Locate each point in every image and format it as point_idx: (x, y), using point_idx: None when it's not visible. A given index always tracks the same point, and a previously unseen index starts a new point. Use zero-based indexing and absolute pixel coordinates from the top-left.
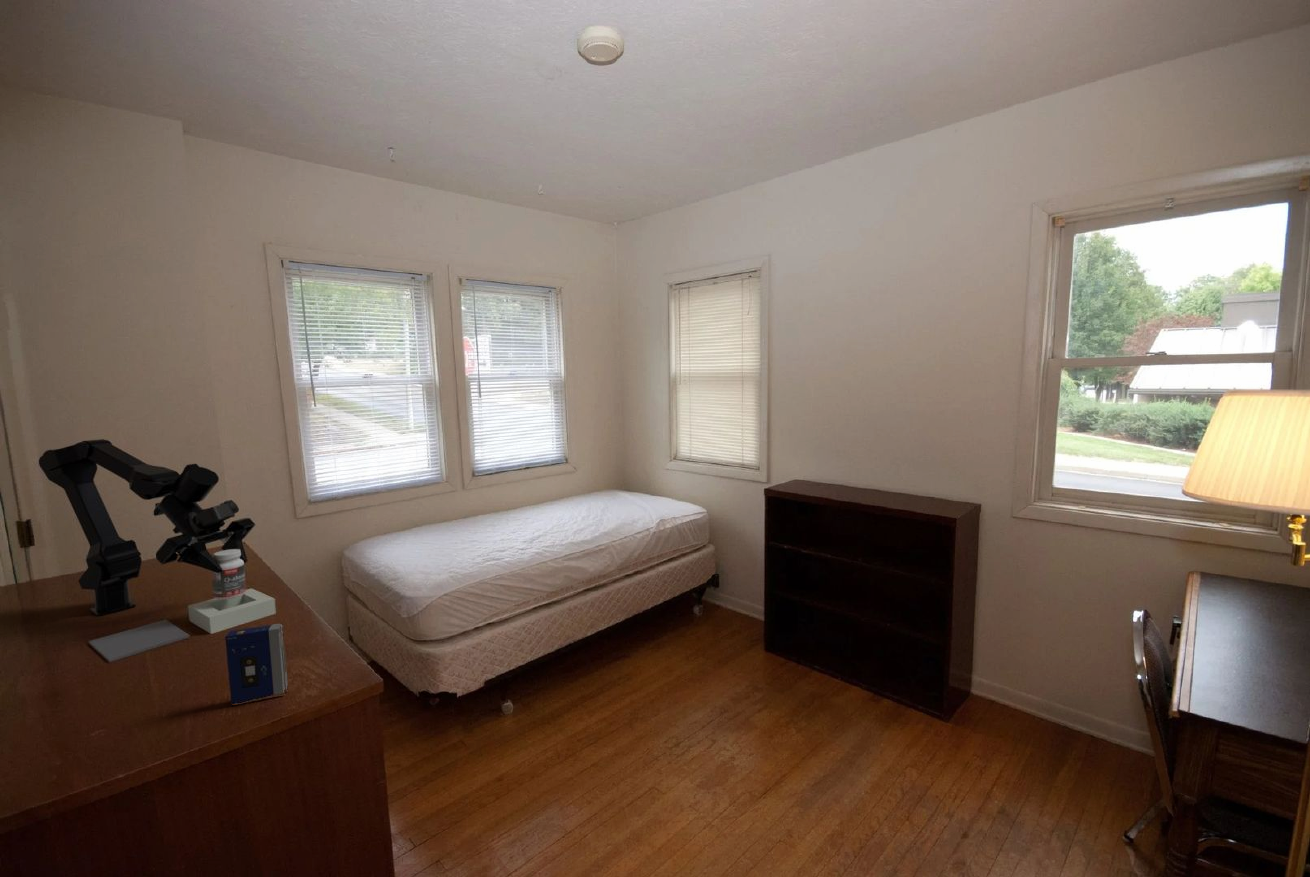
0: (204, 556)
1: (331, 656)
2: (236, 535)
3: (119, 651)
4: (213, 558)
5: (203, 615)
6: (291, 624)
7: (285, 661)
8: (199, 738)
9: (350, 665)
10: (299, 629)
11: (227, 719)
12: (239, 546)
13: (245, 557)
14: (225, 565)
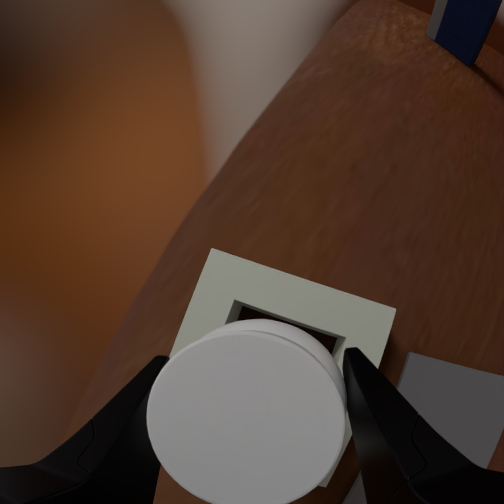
0: (439, 437)
1: (350, 31)
2: (42, 492)
3: (495, 407)
4: (379, 413)
5: (379, 361)
6: (274, 160)
7: (434, 7)
8: (501, 60)
9: (355, 10)
10: (292, 124)
11: (481, 55)
12: (106, 435)
13: (150, 368)
14: (319, 354)
